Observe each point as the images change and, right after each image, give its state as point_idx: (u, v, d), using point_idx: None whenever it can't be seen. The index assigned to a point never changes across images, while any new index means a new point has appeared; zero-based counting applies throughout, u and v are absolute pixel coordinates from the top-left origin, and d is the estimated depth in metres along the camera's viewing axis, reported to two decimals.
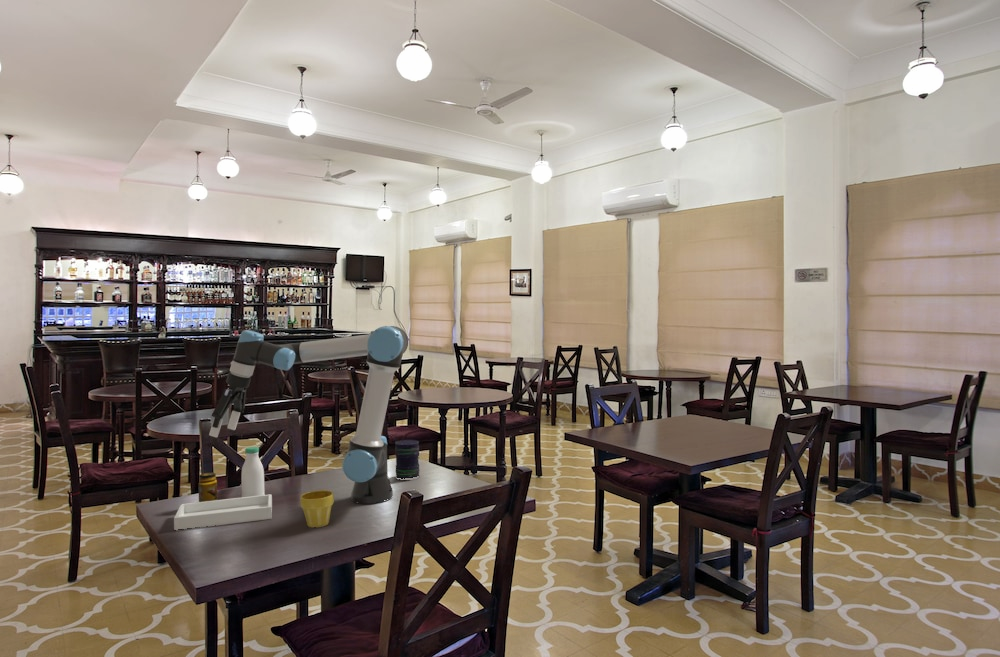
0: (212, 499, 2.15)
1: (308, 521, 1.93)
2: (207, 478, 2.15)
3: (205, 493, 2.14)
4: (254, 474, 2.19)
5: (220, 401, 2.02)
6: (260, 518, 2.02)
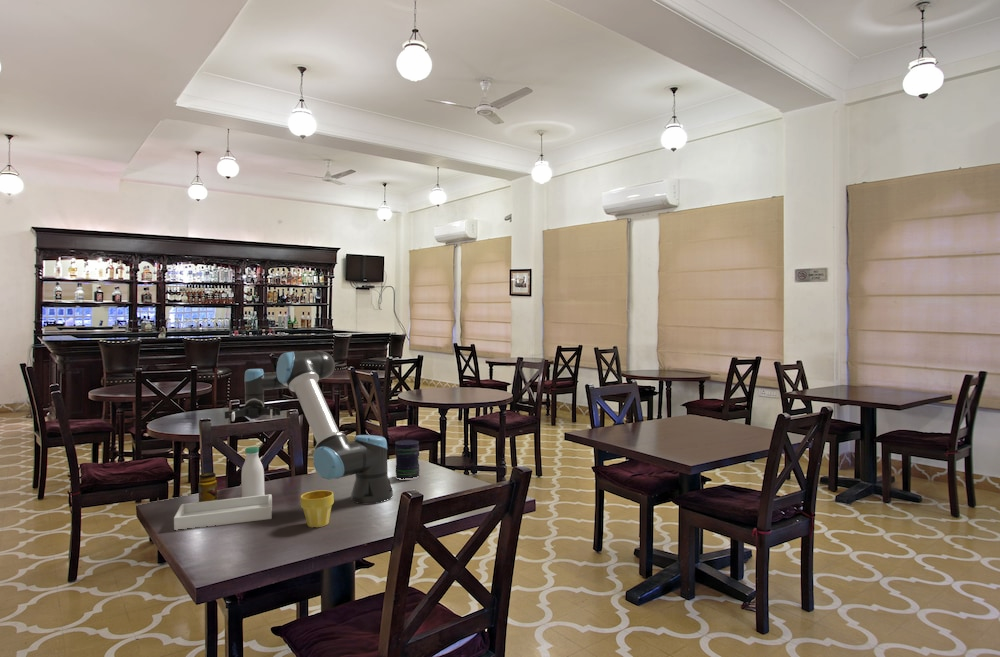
0: (212, 499, 2.15)
1: (308, 521, 1.93)
2: (207, 478, 2.15)
3: (205, 493, 2.14)
4: (254, 474, 2.19)
5: None
6: (260, 518, 2.02)
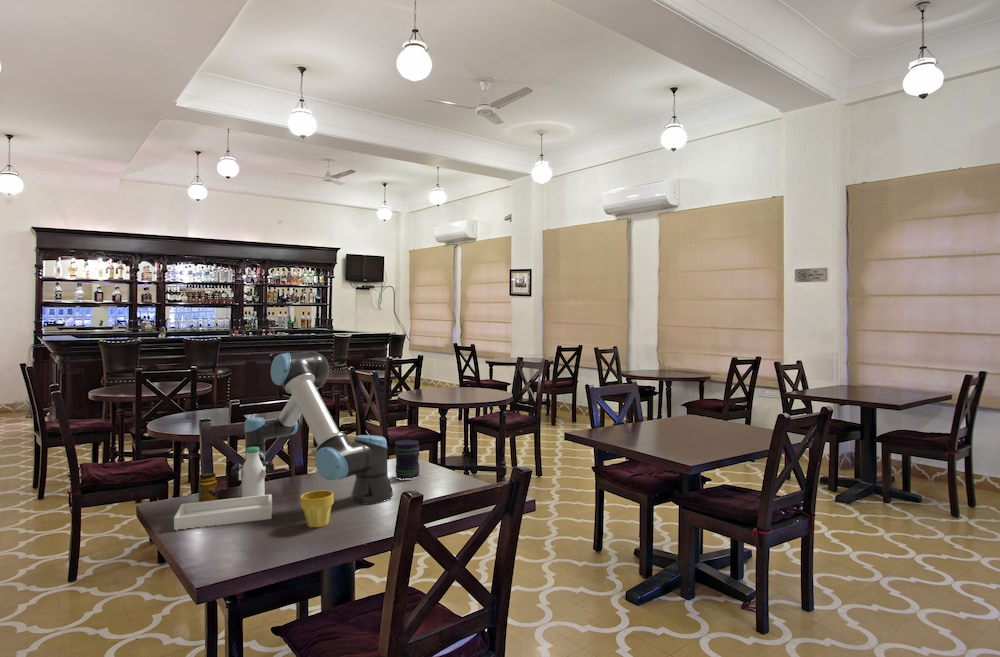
0: (212, 499, 2.15)
1: (308, 521, 1.93)
2: (207, 478, 2.15)
3: (205, 493, 2.14)
4: (254, 474, 2.19)
5: None
6: (260, 518, 2.02)
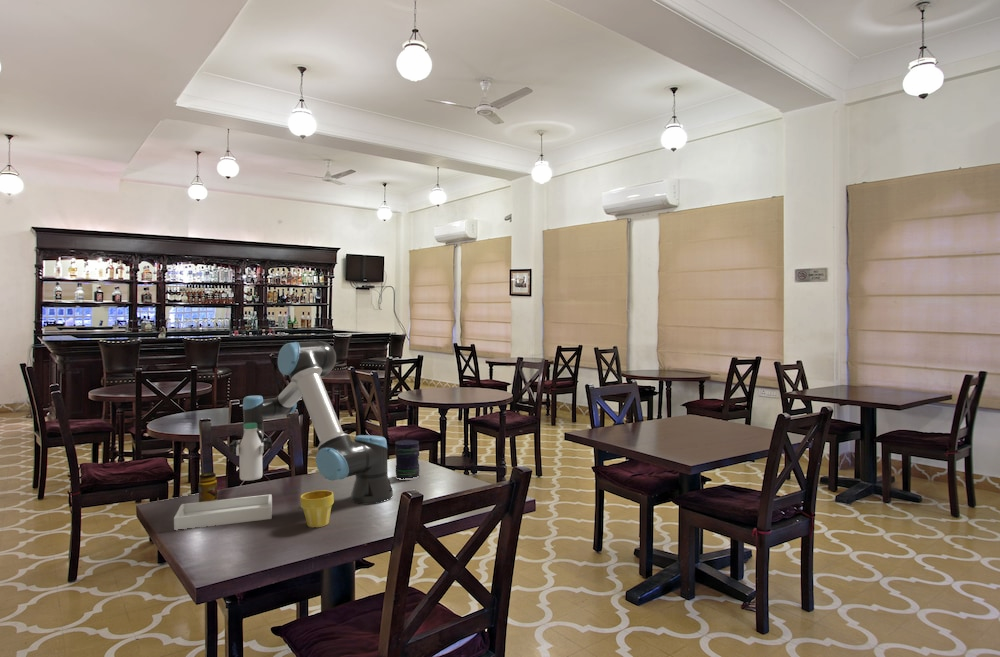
0: (212, 499, 2.15)
1: (308, 521, 1.93)
2: (207, 478, 2.15)
3: (205, 493, 2.14)
4: (252, 450, 2.16)
5: None
6: (260, 518, 2.02)
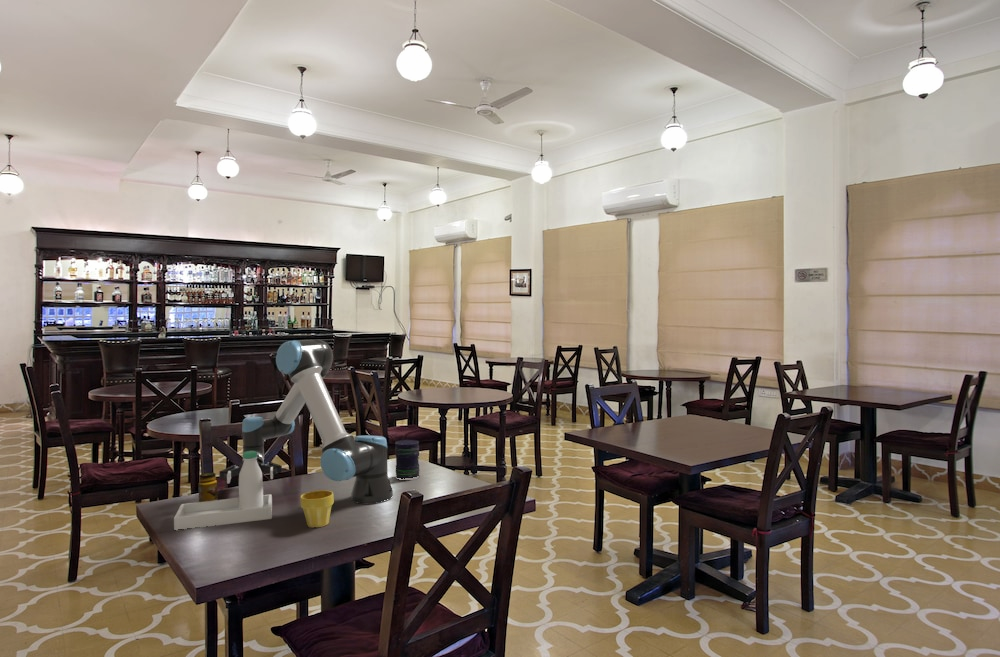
0: (212, 499, 2.15)
1: (308, 521, 1.93)
2: (207, 478, 2.15)
3: (205, 493, 2.14)
4: (252, 481, 2.06)
5: None
6: (260, 518, 2.02)
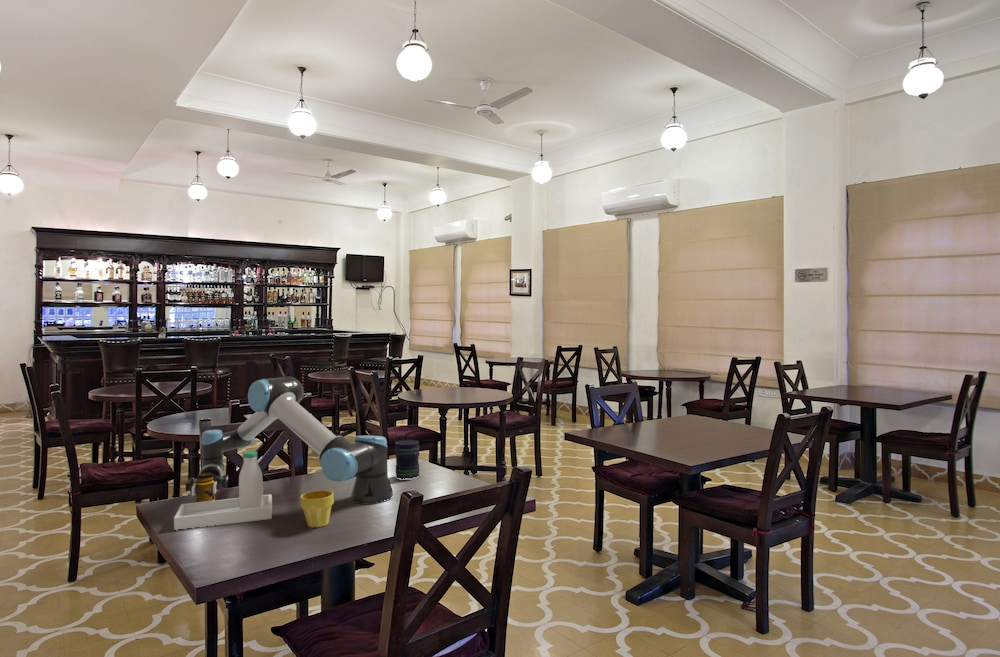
0: (209, 499, 2.15)
1: (308, 521, 1.93)
2: (204, 478, 2.14)
3: (202, 493, 2.14)
4: (253, 480, 2.07)
5: None
6: (260, 518, 2.02)
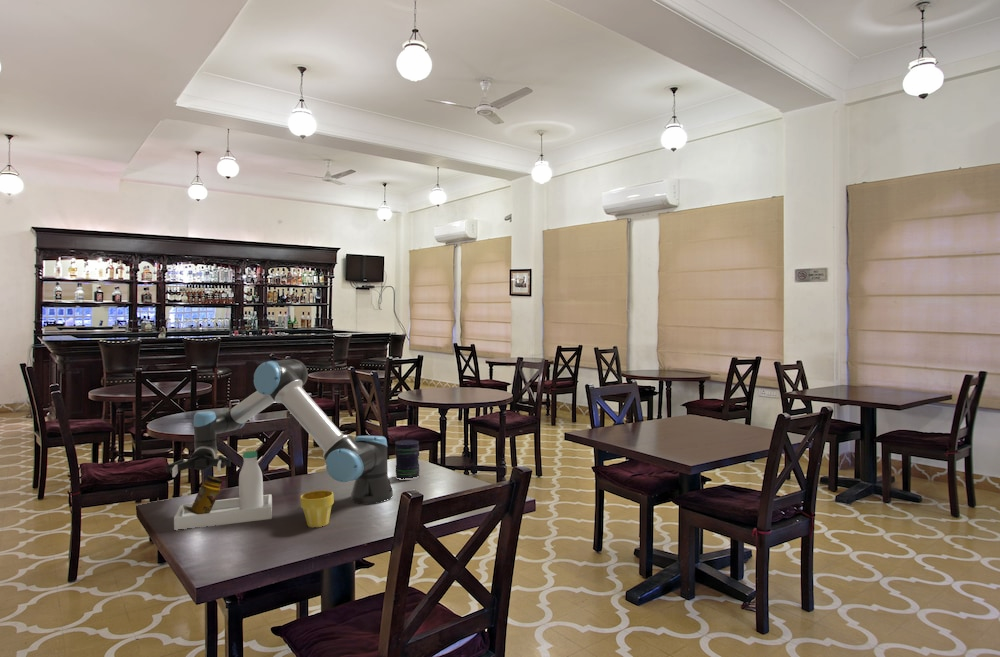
0: (208, 506, 2.01)
1: (308, 521, 1.93)
2: (213, 483, 2.02)
3: (205, 497, 2.01)
4: (252, 480, 2.07)
5: None
6: (260, 518, 2.02)
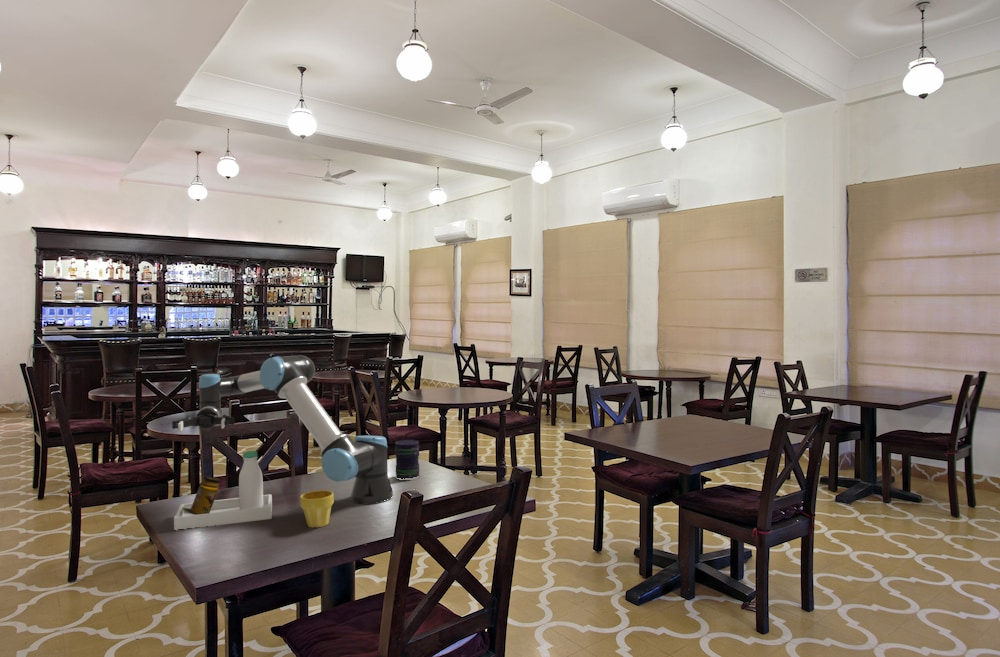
0: (207, 506, 2.01)
1: (308, 521, 1.93)
2: (211, 483, 2.02)
3: (203, 497, 2.01)
4: (253, 480, 2.07)
5: None
6: (260, 518, 2.02)
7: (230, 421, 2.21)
